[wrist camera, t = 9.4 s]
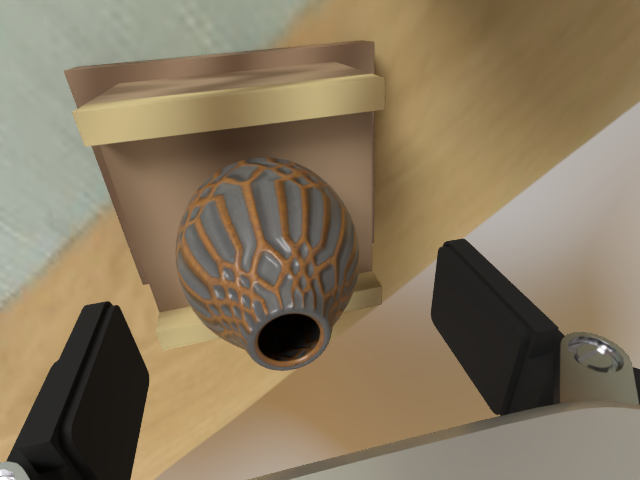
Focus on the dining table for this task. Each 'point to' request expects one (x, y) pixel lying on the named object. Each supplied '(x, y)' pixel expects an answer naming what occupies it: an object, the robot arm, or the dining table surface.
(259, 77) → the stand
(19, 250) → the dining table surface
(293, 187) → the vase
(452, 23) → the dining table surface
